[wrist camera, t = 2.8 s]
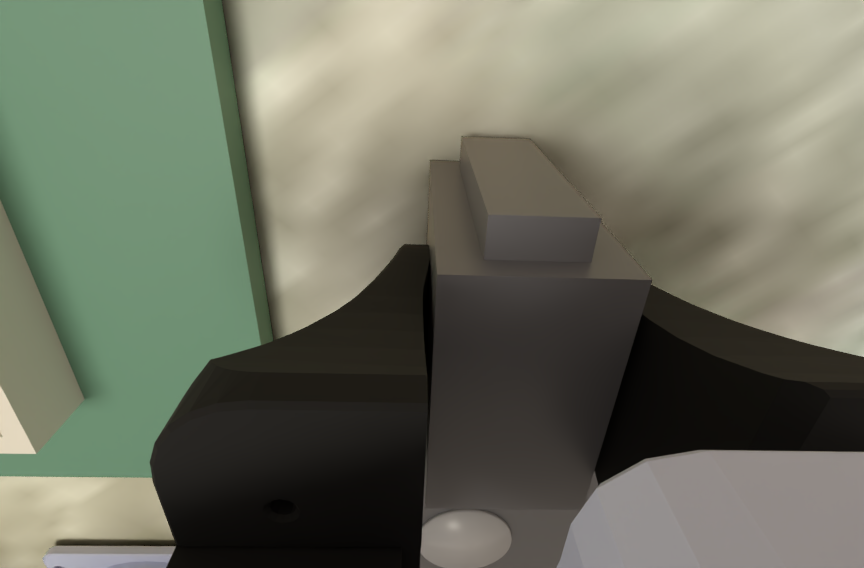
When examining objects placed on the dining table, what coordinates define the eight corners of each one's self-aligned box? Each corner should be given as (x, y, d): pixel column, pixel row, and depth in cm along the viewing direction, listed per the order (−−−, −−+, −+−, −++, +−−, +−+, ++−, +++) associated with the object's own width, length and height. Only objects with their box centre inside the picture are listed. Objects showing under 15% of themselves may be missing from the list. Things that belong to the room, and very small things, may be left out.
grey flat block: (549, 542, 19) (566, 609, 17) (353, 541, 19) (344, 609, 17) (602, 342, 15) (635, 401, 12) (340, 337, 14) (325, 395, 12)
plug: (523, 329, 14) (582, 509, 9) (423, 327, 14) (425, 508, 9) (554, 135, 11) (667, 233, 6) (431, 130, 11) (438, 226, 6)
